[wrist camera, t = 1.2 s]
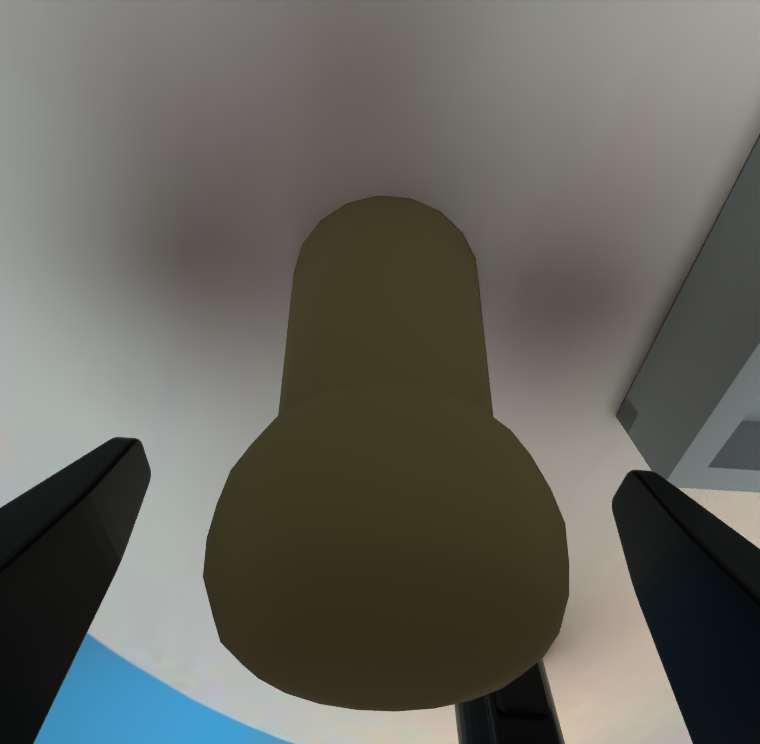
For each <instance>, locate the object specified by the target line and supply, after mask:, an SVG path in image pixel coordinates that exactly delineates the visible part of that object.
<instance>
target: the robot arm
mask: <svg viewBox="0 0 760 744" xmlns="http://www.w3.org/2000/svg"><path fill="white" fill-rule="evenodd" d="M150 478H151V470H150V466H149V463H148V460H147V457H146V454H145V451H144V448H143V445H142V443H141V441H140V440H139V439H136V438H124V437H115V438H112V439H110V440H109V441H107V442H105V443H104V444H102V445H101V446H99V447H97V448H96V449H94V450H92V451H91V452H89V453H88V454H86V455H84V456H83V457H81V458H80V459H78V460H76V461H75V462H73V463H72V464H70V465H68V466H67V467H65V468H64V469H62V470H60V471H59V472H57V473H56V474H54V475H52V476H51V477H49V478H47V479H46V480H44V481H43V482H41V483H39V484H38V485H36V486H35V487H33V488H31V489H30V490H28V491H27V492H25V493H23V494H22V495H20V496H19V497H17V498H15V499H14V500H12V501H11V502H9V503H7V504H6V505H4V506H2V507H1V508H0V744H33V743H34V741H35V739H36V737H37V735H38V733H39V731H40V729H41V727H42V725H43V723H44V721H45V718H46V716H47V714H48V712H49V710H50V708H51V706H52V704H53V702H54V700H55V698H56V696H57V694H58V691H59V689H60V687H61V685H62V683H63V681H64V679H65V677H66V675H67V673H68V671H69V669H70V667H71V665H72V663H73V660H74V658H75V656H76V654H77V652H78V650H79V648H80V646H81V644H82V642H83V640H84V638H85V636H86V634H87V631H88V629H89V627H90V625H91V623H92V621H93V619H94V617H95V615H96V613H97V611H98V609H99V607H100V605H101V602H102V600H103V598H104V596H105V594H106V592H107V590H108V588H109V586H110V584H111V582H112V580H113V578H114V576H115V573H116V571H117V569H118V567H119V565H120V562H121V560H122V557H123V555H124V552H125V550H126V547H127V544H128V541H129V538H130V536H131V533H132V530H133V527H134V524H135V522H136V519H137V516H138V513H139V510H140V508H141V505H142V502H143V499H144V496H145V494H146V491H147V488H148V485H149V482H150ZM612 510H613V515H614V518H615V522H616V526H617V529H618V533H619V537H620V540H621V544H622V548H623V551H624V555H625V559H626V562H627V566H628V570H629V573H630V577H631V580H632V584H633V587H634V590H635V593H636V596H637V598H638V601H639V604H640V607H641V609H642V612H643V614H644V617H645V620H646V622H647V625H648V628H649V630H650V633H651V635H652V638H653V641H654V643H655V646H656V648H657V651H658V654H659V656H660V659H661V661H662V664H663V667H664V669H665V672H666V675H667V677H668V680H669V682H670V685H671V688H672V690H673V693H674V695H675V698H676V701H677V703H678V706H679V708H680V711H681V714H682V716H683V719H684V722H685V724H686V727H687V729H688V732H689V735H690V737H691V740H692V742H693V744H760V549H759V548H758V547H756V546H755V545H754V544H752V543H751V542H750V541H748V540H747V539H746V538H744V537H743V536H741V535H740V534H739V533H737V532H736V531H735V530H733V529H732V528H731V527H729V526H728V525H727V524H725V523H724V522H723V521H721V520H720V519H718V518H717V517H716V516H714V515H713V514H712V513H710V512H709V511H708V510H706V509H705V508H704V507H702V506H701V505H700V504H698V503H697V502H696V501H694V500H693V499H691V498H690V497H689V496H687V495H686V494H685V493H683V492H682V491H681V490H679V489H678V488H677V487H675V486H674V485H673V484H671V483H670V482H668V481H667V480H666V479H664V478H663V477H662V476H660V475H659V474H657V473H656V472H653V471H643V470H632V471H630V472H628V473H627V475H626V476H625V478H624V480H623V481H622V483H621V485H620V487H619V488H618V490H617V492H616V493H615V495H614V497H613V500H612ZM455 713H456V723H457V732H458V741H459V744H565V742H564V739H563V735H562V731H561V727H560V723H559V720H558V716H557V712H556V708H555V705H554V701H553V697H552V693H551V689H550V686H549V682H548V678H547V674H546V671H545V667H544V663H543V659H542V658H541V659H540V660H539V661H538V662H537V663H536V664H534V665H533V666H532V667H531V668H530V669H528V670H527V671H526V672H525V673H523V674H522V675H521V676H519V677H518V678H516V679H515V680H513V681H512V682H510V683H509V684H508V685H506V686H505V687H503V688H502V689H499V690H497V691H494V692H492V693H489V694H486V695H484V696H481V697H479V698H476V699H474V700H471V701H467V702H462V703H457V704H455Z"/></svg>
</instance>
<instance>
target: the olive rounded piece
mask: <svg viewBox="0 0 760 744" xmlns="http://www.w3.org/2000/svg"><path fill="white" fill-rule="evenodd" d="M203 579H204V583H205V587H206V591H207V595H208V598H209V602H210V606H211V610H212V614H213V618H214V621H215V625H216V628H217V632H218V635H219V638H220V642H221V643H222V644H223V645H224V646H225V647H226V648H227V649H228V650H229V651H230V652H231V653H232V654H233V655H234V656H235V657H236V658H237V659H238V660H239V662H240V663H241V664H242V665H244V666H245V667H246V668H247V669H248V670H249V671H250V672H252V673H253V674H254V675H255V676H256V677H257V678H259V679H261V680H262V681H264V682H266V683H268V684H270V685H272V686H273V687H275V688H277V689H279V690H281V691H283V692H284V693H287V694H290V695H293V696H296V697H300V698H303V699H306V700H309V701H312V702H315V703H319V704H324V705H330V706H336V707H343V708H349V709H355V710H374V711H407V710H419V709H432V708H438V707H443V706H448V705H453V704H457V703H462V702H467V701H471V700H474V699H476V698H479V697H481V696H484V695H486V694H489V693H492V692H494V691H497V690H499V689H502V688H503V687H505V686H506V685H508V684H509V683H510V682H512V681H513V680H515V679H516V678H518V677H519V676H521V675H522V674H523V673H525V672H526V671H527V670H528V669H530V668H531V667H532V666H533V665H534V664H536V663H537V662H538V661H539V660H540V659H541V658H543V657H544V655H545V654H546V652H547V651H548V649H549V648H550V646H551V645H552V643H553V641H554V640H555V638H556V637H557V635H558V634H559V632H560V628H561V624H562V620H563V616H564V612H565V608H566V604H567V600H568V596H569V558H568V548H567V538H566V528H565V522H564V520H563V517H562V515H561V512H560V510H559V508H558V505H557V503H556V500H555V498H554V496H553V493H552V491H551V488H550V487H549V485H548V483H547V482H546V480H545V478H544V477H543V475H542V473H541V472H540V470H539V468H538V466H537V465H536V463H535V461H534V460H533V458H532V456H531V455H530V453H529V452H528V451H527V450H526V449H525V447H524V446H523V445H522V444H521V442H520V441H519V440H518V439H517V437H516V436H515V435H514V434H513V432H512V431H511V430H510V429H508V428H507V427H506V426H504V425H503V424H502V423H500V422H499V421H498V420H496V419H495V418H494V417H493V410H492V401H491V392H490V383H489V374H488V365H487V355H486V346H485V337H484V328H483V319H482V310H481V300H480V291H479V283H478V274H477V266H476V258H475V256H474V254H473V252H472V250H471V248H470V246H469V245H468V243H467V241H466V239H465V237H464V235H463V233H462V232H461V231H460V230H459V229H458V228H457V227H456V226H455V225H454V224H453V223H452V222H451V221H450V220H449V219H448V218H446V217H445V216H444V215H443V214H442V213H441V212H440V211H438V210H436V209H433V208H431V207H429V206H426V205H424V204H422V203H420V202H417V201H415V200H413V199H410V198H398V197H385V196H376V197H372V198H368V199H364V200H360V201H356V202H352V203H348V204H346V205H344V206H343V207H341V208H340V209H338V210H337V211H335V212H333V213H332V214H330V215H329V216H327V217H326V218H324V219H323V220H321V221H320V222H319V224H318V225H317V226H316V228H315V229H314V230H313V231H312V233H311V234H310V235H309V237H308V238H307V239H306V241H305V242H304V243H303V245H302V247H301V251H300V254H299V257H298V260H297V264H296V267H295V270H294V275H293V285H292V294H291V303H290V313H289V322H288V331H287V340H286V350H285V359H284V368H283V378H282V387H281V396H280V406H279V415H278V416H277V418H276V419H275V420H274V421H273V422H272V423H271V424H270V425H269V426H268V427H267V428H266V429H265V430H264V431H263V432H262V434H261V435H260V436H259V437H258V438H257V439H256V440H255V441H254V442H253V443H252V444H251V445H250V447H249V448H248V449H247V450H246V452H245V453H244V454H243V456H242V457H241V458H240V459H239V461H238V462H237V463H236V464H235V466H234V467H233V468H232V469H231V471H230V473H229V476H228V478H227V481H226V483H225V486H224V488H223V491H222V493H221V496H220V498H219V500H218V503H217V506H216V509H215V512H214V516H213V519H212V523H211V526H210V529H209V533H208V536H207V541H206V551H205V562H204V572H203Z"/></svg>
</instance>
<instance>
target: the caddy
mask: <svg viewBox="0 0 760 744" xmlns="http://www.w3.org/2000/svg"><path fill="white" fill-rule="evenodd" d="M616 417H617V419H618V420H619V422H620V423H621V425H622V426H623V428H624V429H625V431H626V432H627V434H628V435H629V437H630V438H631V440H632V441H633V443H634V444H635V446H636V447H637V449H638V450H639V452H640V453H641V455H642V456H643V458H644V459H645V461H646V462H647V464H648V465H649V467H650V468H651V470H652V471H653V472H656V473H657V474H659V475H660V476H662V477H663V478H664V479H666V480H667V481H668V482H670V483H671V484H673V485H674V486H675V487H680V488H696V489H712V490H728V491H744V492H760V137H759V139H758V141H757V143H756V145H755V147H754V149H753V151H752V153H751V154H750V156H749V158H748V160H747V162H746V164H745V166H744V168H743V170H742V172H741V174H740V176H739V178H738V180H737V182H736V184H735V186H734V188H733V190H732V192H731V193H730V195H729V197H728V199H727V201H726V203H725V205H724V207H723V209H722V211H721V213H720V215H719V217H718V219H717V221H716V223H715V225H714V227H713V229H712V230H711V232H710V234H709V236H708V238H707V240H706V242H705V244H704V246H703V248H702V250H701V252H700V254H699V256H698V258H697V260H696V262H695V264H694V266H693V268H692V269H691V271H690V273H689V275H688V277H687V279H686V281H685V283H684V285H683V287H682V289H681V291H680V293H679V295H678V297H677V299H676V301H675V303H674V305H673V306H672V308H671V310H670V312H669V314H668V316H667V318H666V320H665V322H664V324H663V326H662V328H661V330H660V332H659V334H658V336H657V338H656V340H655V342H654V344H653V345H652V347H651V349H650V351H649V353H648V355H647V357H646V359H645V361H644V363H643V365H642V367H641V369H640V371H639V373H638V375H637V377H636V379H635V381H634V383H633V384H632V386H631V388H630V390H629V392H628V394H627V396H626V398H625V400H624V402H623V404H622V406H621V408H620V410H619V412H618V414H617V416H616Z"/></svg>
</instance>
